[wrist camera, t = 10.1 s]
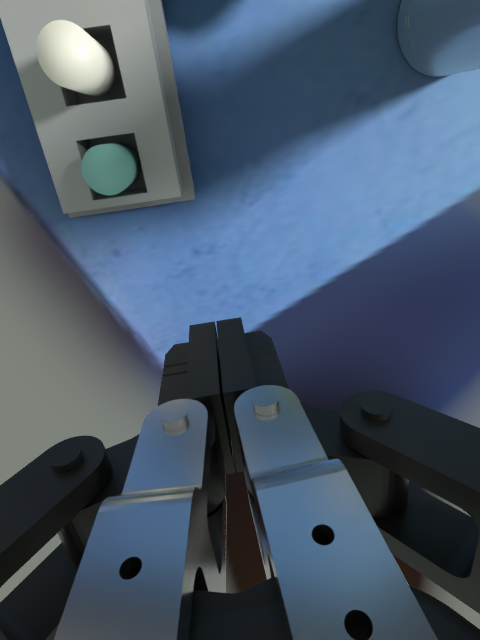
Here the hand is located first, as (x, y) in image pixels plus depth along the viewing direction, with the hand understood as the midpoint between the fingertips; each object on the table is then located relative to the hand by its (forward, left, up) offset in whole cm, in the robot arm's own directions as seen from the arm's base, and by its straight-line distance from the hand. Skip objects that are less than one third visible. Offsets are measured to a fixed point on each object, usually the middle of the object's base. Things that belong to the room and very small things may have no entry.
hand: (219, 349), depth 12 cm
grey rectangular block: (+7, -11, -32) cm, 35 cm away
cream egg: (+7, -11, -26) cm, 29 cm away
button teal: (+7, -4, -28) cm, 30 cm away
